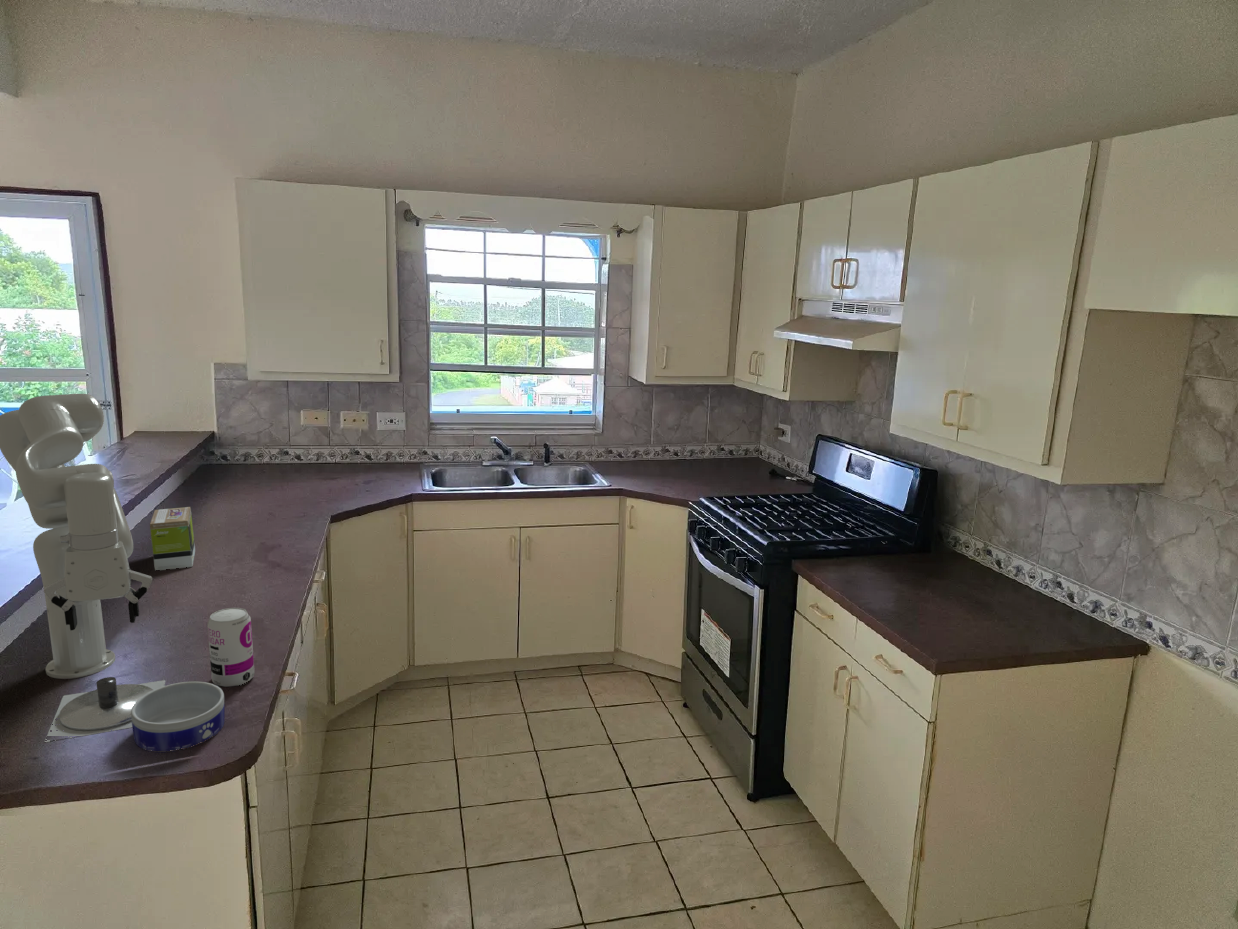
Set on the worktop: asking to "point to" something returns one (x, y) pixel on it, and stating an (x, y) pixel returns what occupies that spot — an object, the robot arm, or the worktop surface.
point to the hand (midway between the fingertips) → (103, 623)
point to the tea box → (172, 538)
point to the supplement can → (230, 647)
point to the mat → (69, 732)
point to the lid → (102, 706)
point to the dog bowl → (178, 716)
